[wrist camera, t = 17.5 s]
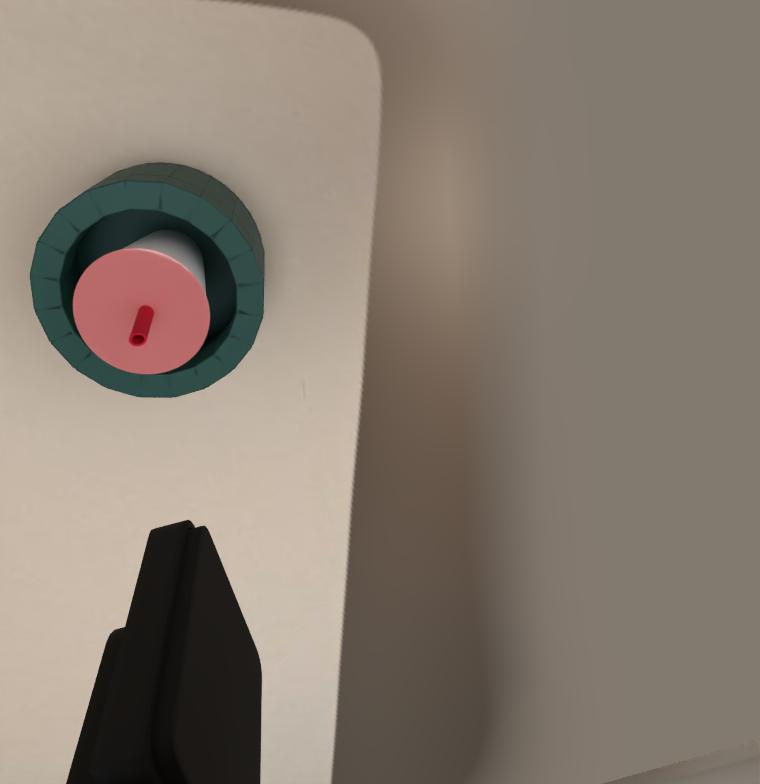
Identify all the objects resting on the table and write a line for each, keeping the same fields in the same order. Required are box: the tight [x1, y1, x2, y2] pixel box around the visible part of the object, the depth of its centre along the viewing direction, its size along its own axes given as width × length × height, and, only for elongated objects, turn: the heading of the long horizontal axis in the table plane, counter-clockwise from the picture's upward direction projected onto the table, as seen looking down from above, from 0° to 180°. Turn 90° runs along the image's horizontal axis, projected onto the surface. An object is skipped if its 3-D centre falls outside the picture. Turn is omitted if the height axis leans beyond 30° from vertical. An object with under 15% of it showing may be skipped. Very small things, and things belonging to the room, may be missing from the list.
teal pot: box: [30, 163, 264, 398], centre depth 34 cm, size 10×10×7 cm
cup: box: [73, 230, 210, 374], centre depth 31 cm, size 5×5×12 cm
